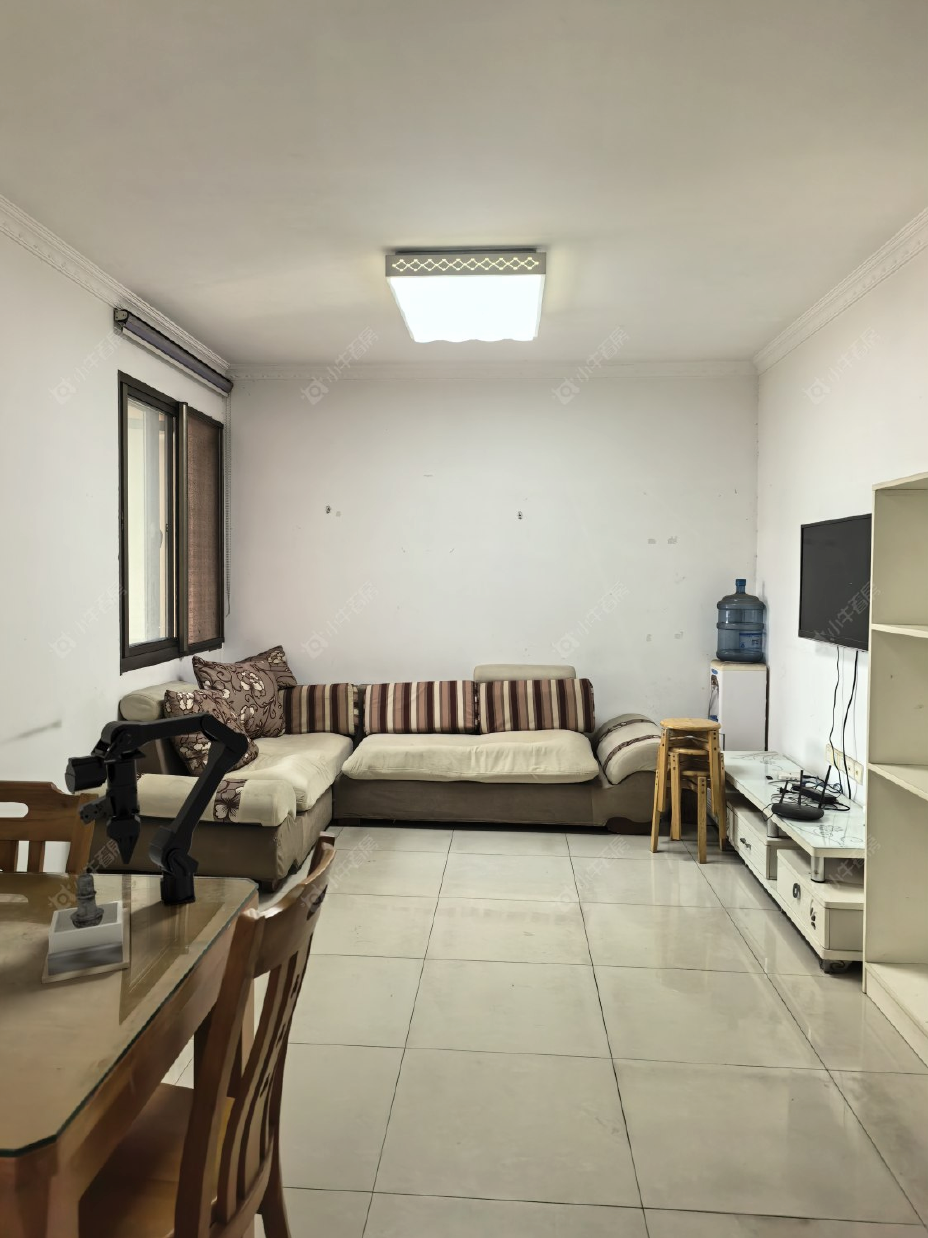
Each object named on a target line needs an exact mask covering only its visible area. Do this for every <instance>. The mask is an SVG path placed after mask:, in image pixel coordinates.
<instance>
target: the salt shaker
mask: <svg viewBox="0 0 928 1238" xmlns="http://www.w3.org/2000/svg"><path fill="white" fill-rule="evenodd" d="M94 881H95V879H94V875H92V874H90V873H88V872H87V870H86V869H84V870H83V871H82V874H81V875H79V876H78V877H77V879H76V889H77V891H76V892H77V893H76V894H75V897H76V899H77V900H76V901H77V907H78V909H77V911H76V912H74V913H73V914H72V915H71V916H70V919H71V920H72V923H73V925H74V926H75V927H76V928H77V929H80V928H86V927H92V926H98V925H99V923H100V922H101V920H102V918H103V914H104V909H102V908H97V906H96V904H97V902H96V894H97V890H95V882H94Z"/></svg>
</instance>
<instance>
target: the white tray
mask: <svg viewBox="0 0 928 1238" xmlns="http://www.w3.org/2000/svg"><path fill="white" fill-rule="evenodd" d="M96 906H97V908H102V909H104V914H103V918H102V920H101V922H100V923H99V925H98V926H92V927H86V928H80V929H77V928H76V927H75V926H74V925H73V923H72V920H71V919H70V916H71V915H72V914H73V913H74V912H76V911H77V909H78V906H77V907H71V908H63V909H58V910H53V914H52V919H51V923H50V927H49V932H48V935H47V936H48V949H49V953H50V954H52V953H58V952H63V951H69V950H74V949H80V948H86V947H91V946H97V945H102V944H108V943H114V942H119V941H122V945H123V900H114V901H108V902H102V903H96Z"/></svg>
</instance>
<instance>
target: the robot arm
mask: <svg viewBox="0 0 928 1238" xmlns="http://www.w3.org/2000/svg"><path fill="white" fill-rule="evenodd" d="M196 733H200V734H201V735H202V736H203V737H204V738H205V739H206V740H207V741H208V742H210V745H209V747H208V751H207V758H206V759H207V761H206V764H205V765H204V768H203V769H202V770H201V772H200V775H199V776H198V778H197V780H196V781H195V782H194V785H193V787H192V788H191V790H190V792H189V794H188V795H187V797H186V798H185V801H183V802H184V803H183V804H182V805H181V807H180V809H179V811H178V812H177V814H176V816H175V817H174V819H173V821H172V822H171V823H169V825H168V826H166V827H164V826H163V825H159V826H158V827H157V830H156V831H155V834H154V836H153V837H152V838H151V839H150V840H149V841H148V843H149V844H150V845H149V848H148V851H147V852H148V856H149V858H150V860H151V861H152V862H153V863H154V864H156V865H157V867H158V869H159V870H162V871H161V872H162V877H160V878H159V892H160V901H161V902H163V906H164V907H165V906H171V905H178V904H183V903H190V902H195V901H196V900H197V898H196V891H195V879H194V878H195V877H194V875H195V874H197V871H198V868H199V862H198V861H197V860H196V859H195V858H194V857H191V855H189V853H190V851H191V848H192V845H193V844H192V843H193V835H194V834H193V833H194V831H195V829H196V827H197V825H198V823H199V821H200V820H201V818H202V816H203V815H204V813H205V811H206V810H207V807H208V806H209V805H210V802H211V800H212V799H213V797H214V795H215V793H216V791H217V790H218V788H219V787H220V785H221V783H222V781H223V780H224V777H225V776H226V774H227V773H228V772H229V771H231V769H233V768H235V767H236V766H237V765H238V764H239V763H240V762H241V760H242V759H243V757H244V756H245V755H246V754H247V752H248V750H249V748H250V743H249V739H248V737H247V736H246V735H245V734H244V733H242V732H239V731H235V730H234V729H233V728H232V727H229V726H228V725H227V724H225V723H224V722H222V721H221V720H220V719H218V718H217V717H216V716H215V715H214V714H213V713H210V712H204V711H198V712H196V713H191V714H186V715H180V716H173V717H167V718H161V719H160V718H159V719H155V720H148V721H136V720H135V721H134V720H112V721H108V722H107V723H106V724H105V725H104V727H103V728H102V730H101V732H100V738H99V739H98V741H97V742H96V744H95V746H94V747H93V748H92V750H91V751H90V753H89V755H83V756H72V757H68V758H67V764H66V768H65V773H64V780H65V781H64V782H65V785H66V789H67V790H68V792H69V793H70V794H72V793H76V792H83V791H86V790H87V791H88V790H91V789H98V788H101V787H102V786H103V784H104V785H105V784H106V786H107V787H106V788H105V794H104V795H102V796H99V797H97V798H95V799H92V800H90V801H88V802H86V803H83V804H81V805H80V806H79V807H78V808H77V813H78V815H79V820H81V821H82V823H83V826H87V825H89V824H91V823H92V822H94V821H96V820H97V819H99V818H102V817H104V816H105V815H106V818H109V819H108V821H107V822H106V828H105V829H106V837H107V838H108V839H110V840H112V841H114V842H115V843H116V845H117V848H118V851H119V855H120V859H121V862H122V864H123V865H129V864H130V863H131V859H132V856H133V853H134V851H135V848H136V845H137V843H138V840H139V837H140V835H141V832H142V831H141V827H142V826H141V818H140V816H141V815H140V814H141V807H140V805H141V803H140V800H139V795H138V794H139V793H138V777H137V773H138V771H137V760H140V759H146V757H147V755H146V754H145V753H143V752H142V751H141V750H140V749H139V748H141V747H143V746H145V745H146V744H148V743H150V742H153V741H158V740H162V739H168V738H173V737H179V736H183V735H189V734H196Z"/></svg>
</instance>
